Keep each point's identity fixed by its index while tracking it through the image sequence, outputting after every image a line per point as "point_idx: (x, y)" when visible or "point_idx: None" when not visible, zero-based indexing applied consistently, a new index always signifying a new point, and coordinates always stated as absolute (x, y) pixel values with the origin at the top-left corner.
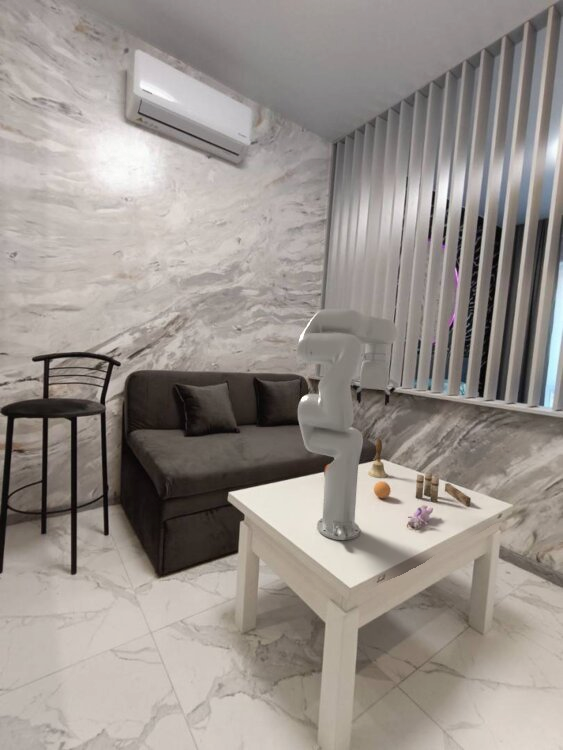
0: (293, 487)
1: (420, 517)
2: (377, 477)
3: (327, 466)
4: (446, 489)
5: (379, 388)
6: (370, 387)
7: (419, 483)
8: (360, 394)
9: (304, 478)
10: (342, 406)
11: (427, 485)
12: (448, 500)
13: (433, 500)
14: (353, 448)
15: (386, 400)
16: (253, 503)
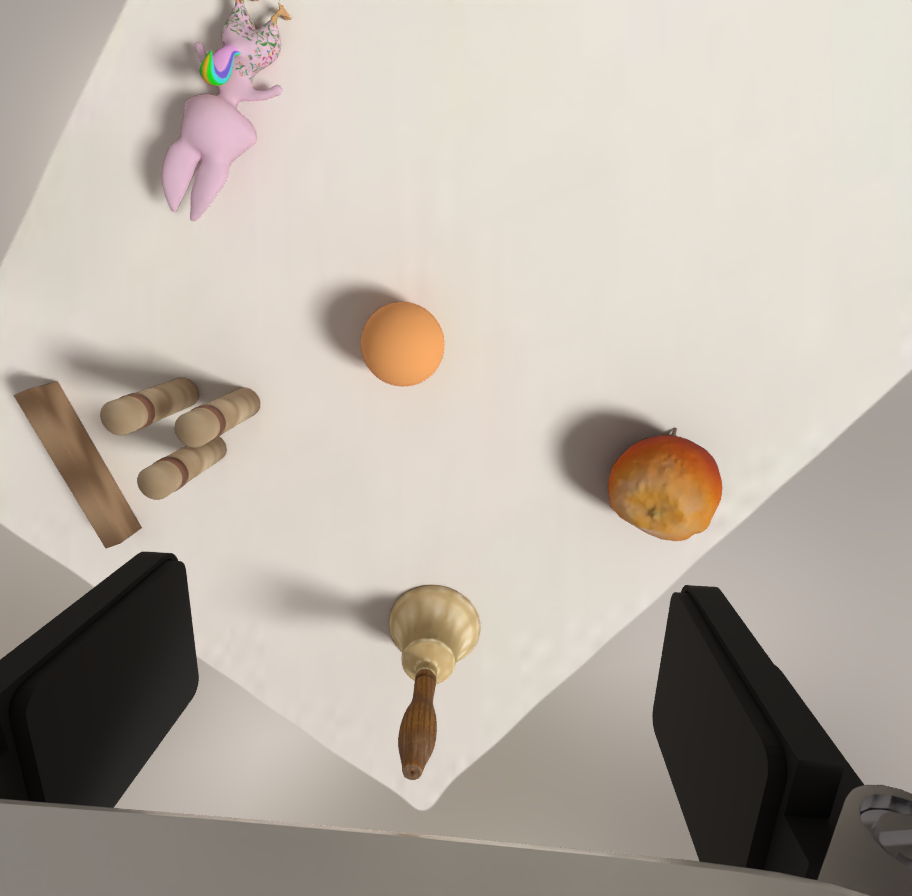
0: (866, 302)
1: (222, 92)
2: (434, 585)
3: (714, 483)
4: (129, 522)
5: (13, 807)
6: (447, 862)
7: (212, 404)
8: (754, 726)
9: (808, 450)
10: None
11: (187, 449)
12: None
13: (182, 379)
14: None
15: (92, 602)
16: None
